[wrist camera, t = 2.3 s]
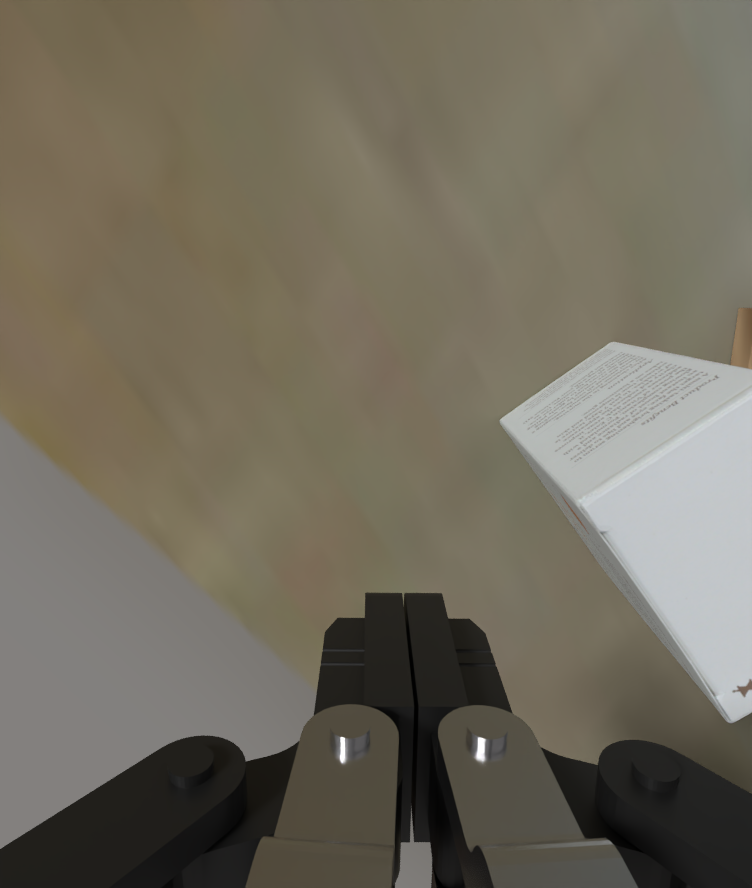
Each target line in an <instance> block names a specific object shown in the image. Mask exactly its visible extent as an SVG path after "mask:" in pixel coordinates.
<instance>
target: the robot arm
mask: <svg viewBox="0 0 752 888" xmlns="http://www.w3.org/2000/svg"><path fill="white" fill-rule="evenodd" d="M411 808H412V821H413V833H414V842H430V843H431V853H432V879H431V888H752V794H750V793H749V792H747V791H745V790H743V789H742V788H740V787H738V786H736V785H735V784H733V783H731V782H729V781H727V780H726V779H724V778H722V777H720V776H719V775H717V774H715V773H713V772H712V771H710V770H708V769H706V768H705V767H703V766H701V765H699V764H698V763H696V762H694V761H692V760H691V759H689V758H687V757H685V756H683V755H682V754H680V753H678V752H676V751H674V750H672V749H670V748H667V747H665V746H662V745H659V744H656V743H652V742H647V741H640V740H624V741H619V742H616V743H613V744H611V745H609V746H607V747H606V748H605V749H604V750H603V751H602V753H601V755H600V757H599V762H598V765H595V764H590V763H586V762H582V761H578V760H574V759H570V758H566V757H563V756H559V755H557V754H554V753H552V752H549V751H547V750H545V749H543V748H541V747H540V745H539V743H538V741H537V739H536V737H535V735H534V733H533V731H532V730H531V728H530V727H529V726H528V725H527V724H526V723H525V722H524V721H523V720H522V719H520V718H519V717H517V716H516V715H514V714H513V713H512V710H511V708H510V705H509V702H508V699H507V696H506V693H505V690H504V687H503V684H502V681H501V678H500V675H499V672H498V669H497V667H496V666H495V661H494V658H493V655H492V653H491V649H490V646H489V643H488V640H487V637H486V634H485V633H484V632H483V631H482V630H481V629H480V628H479V627H478V626H477V625H476V624H474V623H473V622H472V621H471V620H470V619H448V617H447V612H446V608H445V604H444V600H443V596H442V593H405V594H404V607H403V598H402V593H365V618H337V619H336V621H335V622H334V623H333V624H332V625H331V626H330V627H329V628H328V629H327V630H326V632H325V637H324V644H323V652H322V659H321V666H320V674H319V681H318V689H317V696H316V703H315V711H314V716H313V717H312V718H311V719H310V720H309V721H308V722H307V723H306V725H305V726H304V728H303V731H302V734H301V737H300V741H299V742H297V743H296V744H295V745H293V746H292V747H290V748H288V749H287V750H284V751H282V752H280V753H277V754H274V755H271V756H267V757H263V758H259V759H255V760H251V761H247V762H245V757H244V755H243V752H242V751H241V750H240V749H239V747H238V746H236V745H235V744H234V743H232V742H230V741H228V740H226V739H223V738H220V737H215V736H194V737H188V738H184V739H181V740H177V741H175V742H172V743H170V744H168V745H166V746H164V747H162V748H161V749H159V750H157V751H156V752H154V753H153V754H151V755H149V756H148V757H146V758H145V759H143V760H142V761H140V762H138V763H137V764H135V765H133V766H132V767H130V768H129V769H127V770H125V771H124V772H122V773H121V774H119V775H117V776H116V777H115V778H113V779H111V780H110V781H108V782H107V783H105V784H103V785H102V786H100V787H98V788H97V789H95V790H94V791H92V792H90V793H89V794H87V795H86V796H84V797H83V798H81V799H79V800H78V801H76V802H75V803H73V804H71V805H70V806H68V807H66V808H65V809H63V810H62V811H60V812H58V813H57V814H55V815H54V816H52V817H51V818H49V819H47V820H46V821H44V822H43V823H41V824H39V825H38V826H36V827H35V828H33V829H32V830H30V831H28V832H27V833H25V834H23V835H22V836H20V837H19V838H17V839H15V840H14V841H12V842H11V843H9V844H8V845H6V846H4V847H3V848H2V849H0V888H395V882H396V880H397V878H398V875H399V871H400V847H401V842H410V819H411Z"/></svg>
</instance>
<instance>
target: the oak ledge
mask: <svg viewBox="0 0 752 888" xmlns="http://www.w3.org/2000/svg"><path fill="white" fill-rule="evenodd" d="M730 365H732V366H738V367H743V368H748V369H752V308H739V311H738V317H737V324H736V330H735V337H734V344H733V350H732V357H731V364H730Z"/></svg>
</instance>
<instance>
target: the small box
mask: <svg viewBox="0 0 752 888" xmlns="http://www.w3.org/2000/svg"><path fill="white" fill-rule="evenodd" d="M500 424H501V426H502V427H503V428H504V430H505V431H506V432H507V434H508V435H509V437H510V438H511V440H512V441H513V442H514V444H515V445H516V447H517V448H518V449H519V451H520V452H521V454H522V455H523V456H524V458H525V459H526V461H527V462H528V464H529V465H530V466H531V468H532V469H533V471H534V472H535V473H536V475H537V476H538V478H539V479H540V480H541V482H542V483H543V485H544V486H545V487H546V489H547V490H548V492H549V493H550V494H551V496H552V497H553V499H554V500H555V502H556V503H557V504H558V506H559V507H560V509H561V510H562V512H563V513H564V514H565V516H566V517H567V519H568V520H569V522H570V523H571V524H572V526H573V527H574V529H575V530H576V532H577V533H578V534H579V536H580V537H581V539H582V540H583V541H584V543H585V544H586V546H587V547H588V548H589V550H590V551H591V553H592V554H593V556H594V557H595V558H596V560H597V561H598V563H599V564H600V566H601V567H602V568H603V570H604V571H605V572H606V573H607V575H608V576H609V577H610V578H611V580H612V581H613V582H614V584H615V585H616V586H617V587H618V589H619V590H620V591H621V592H622V594H623V595H624V596H625V597H626V598H627V600H628V601H629V602H630V604H631V605H632V606H633V607H634V608H635V610H636V611H637V612H638V613H639V615H640V616H641V617H642V618H643V620H644V621H645V622H646V623H647V625H648V626H649V627H650V628H651V629H652V631H653V632H654V633H655V634H656V635H657V637H658V638H659V639H660V641H661V642H662V643H663V644H664V645H665V646H666V648H667V649H668V650H669V651H670V652H671V654H672V655H673V656H674V657H675V658H676V660H677V661H678V662H679V663H680V665H681V666H682V667H683V668H684V669H685V671H686V672H687V673H688V674H689V676H690V677H691V678H692V679H693V680H694V682H695V683H696V684H697V685H698V687H699V688H700V689H701V690H702V691H703V693H704V694H705V695H706V696H707V698H708V699H709V700H710V701H711V703H712V704H713V705H714V706H715V708H716V709H717V710H718V711H719V713H720V714H721V715H722V716H723V718H724V719H725V720H726V722H728V723H734V722H736V721H738V720H739V719H741V718H743V717H745V716H747V715H748V714H750V713H752V369H748V368H743V367H738V366H732V365H727V364H723V363H717V362H713V361H708V360H703V359H698V358H693V357H688V356H683V355H678V354H673V353H667V352H663V351H658V350H653V349H648V348H643V347H638V346H633V345H628V344H623V343H618V342H611V343H609V344H608V345H606V346H605V347H603V348H602V349H600V350H599V351H598V352H596V353H595V354H593V355H592V356H590V357H589V358H587V359H586V360H584V361H583V362H581V363H580V364H579V365H577V366H576V367H574V368H573V369H571V370H570V371H568V372H567V373H566V374H564V375H563V376H561V377H560V378H558V379H557V380H555V381H554V382H553V383H551V384H550V385H548V386H547V387H545V388H544V389H542V390H541V391H540V392H538V393H537V394H535V395H534V396H532V397H531V398H530V399H528V400H527V401H525V402H524V403H522V404H521V405H520V406H518V407H517V408H515V409H514V410H513V411H511V412H510V413H508V414H507V415H506V416H504V417H503V418H501V419H500Z"/></svg>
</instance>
